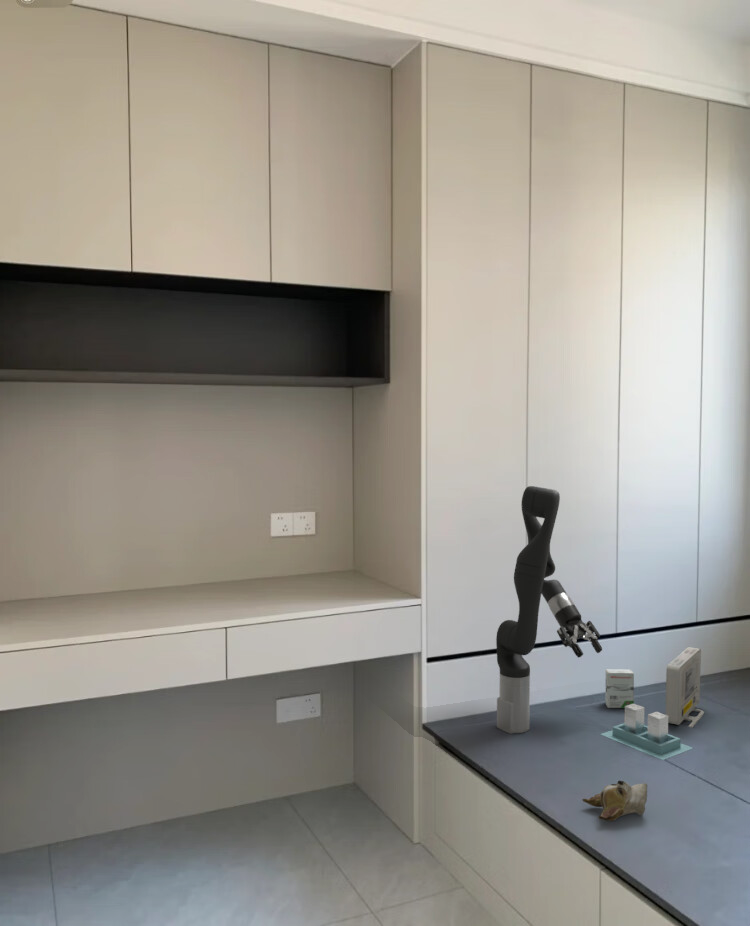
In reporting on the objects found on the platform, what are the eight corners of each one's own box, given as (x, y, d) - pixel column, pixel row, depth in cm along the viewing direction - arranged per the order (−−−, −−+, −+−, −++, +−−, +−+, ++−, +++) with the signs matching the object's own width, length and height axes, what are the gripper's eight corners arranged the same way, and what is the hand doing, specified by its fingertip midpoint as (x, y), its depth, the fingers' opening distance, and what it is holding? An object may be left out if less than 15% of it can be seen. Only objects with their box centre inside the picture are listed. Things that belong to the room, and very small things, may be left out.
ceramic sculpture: (657, 786, 200) (598, 795, 198) (658, 821, 201) (600, 830, 198) (636, 767, 210) (580, 776, 208) (637, 801, 211) (581, 809, 209)
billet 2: (658, 749, 239) (659, 718, 238) (647, 744, 242) (647, 714, 241) (667, 746, 241) (668, 715, 240) (655, 741, 244) (656, 711, 244)
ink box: (631, 703, 280) (631, 668, 279) (634, 708, 275) (634, 673, 274) (604, 702, 280) (605, 667, 280) (607, 707, 276) (607, 672, 275)
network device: (680, 703, 279) (682, 644, 278) (708, 709, 274) (709, 649, 273) (657, 727, 259) (659, 664, 257) (686, 734, 254) (688, 669, 252)
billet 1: (635, 740, 245) (635, 710, 245) (624, 735, 249) (624, 706, 248) (643, 737, 248) (644, 707, 247) (632, 732, 251) (633, 703, 250)
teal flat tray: (662, 765, 232) (662, 751, 232) (600, 739, 250) (600, 726, 250) (693, 753, 240) (693, 739, 240) (630, 728, 258) (630, 716, 258)
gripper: (554, 606, 264) (581, 651, 255) (585, 600, 272) (612, 644, 263) (542, 619, 269) (568, 663, 260) (573, 613, 277) (599, 656, 268)
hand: (590, 653), depth 262 cm, fingers open, 8 cm apart
